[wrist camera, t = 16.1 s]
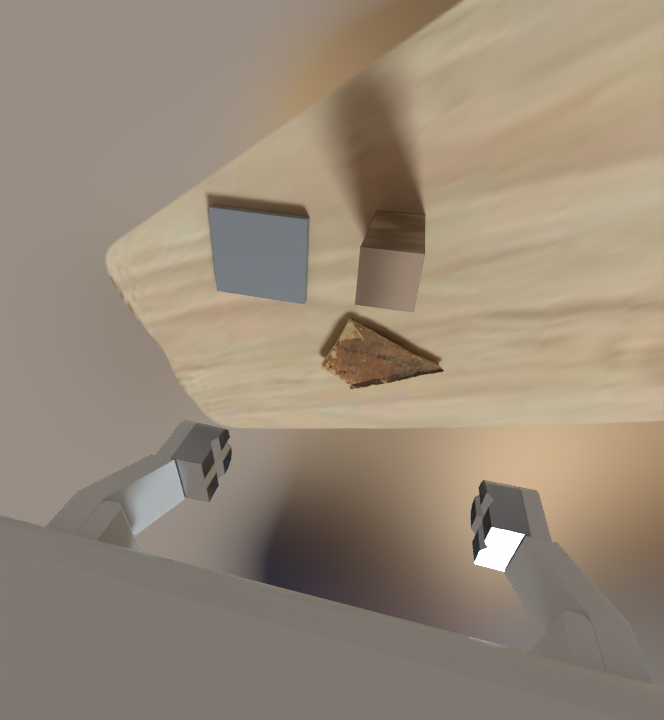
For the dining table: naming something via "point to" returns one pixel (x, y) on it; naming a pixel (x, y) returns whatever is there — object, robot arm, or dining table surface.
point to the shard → (373, 359)
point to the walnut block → (391, 261)
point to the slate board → (260, 253)
